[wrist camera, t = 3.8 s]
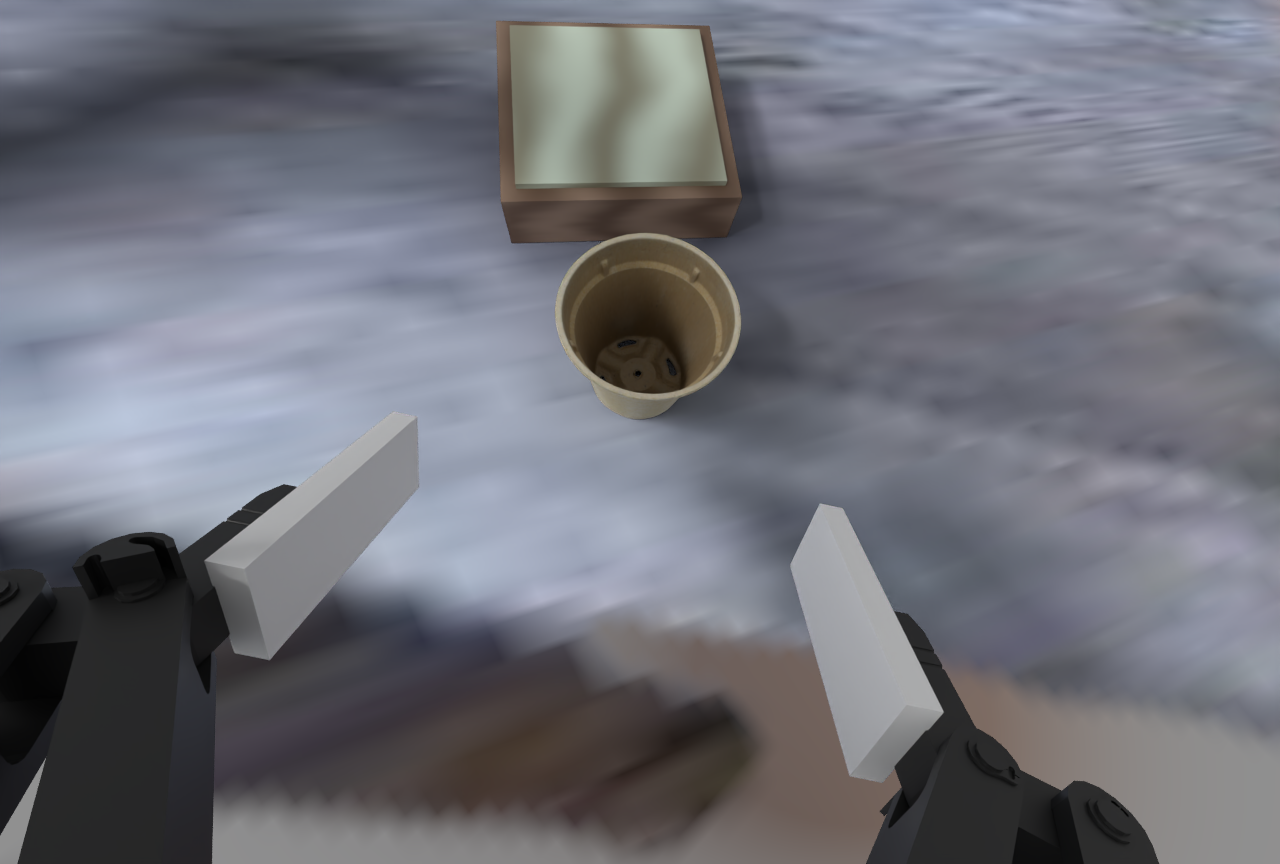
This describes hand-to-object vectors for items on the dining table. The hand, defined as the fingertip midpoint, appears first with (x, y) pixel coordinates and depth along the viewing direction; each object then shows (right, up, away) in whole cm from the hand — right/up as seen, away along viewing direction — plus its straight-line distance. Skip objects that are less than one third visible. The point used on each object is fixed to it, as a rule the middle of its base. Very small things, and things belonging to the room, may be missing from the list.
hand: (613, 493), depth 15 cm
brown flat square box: (-1, +24, +22) cm, 32 cm away
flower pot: (+1, +6, +17) cm, 18 cm away
